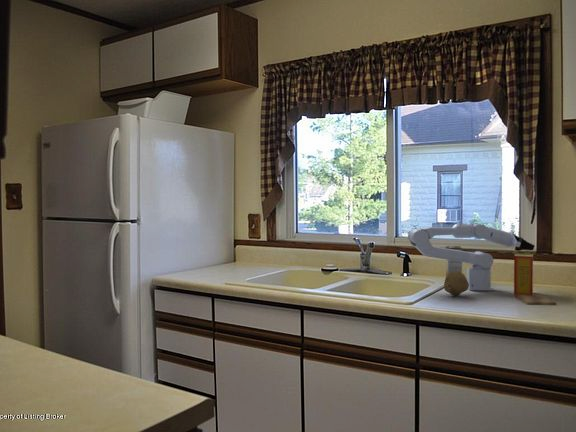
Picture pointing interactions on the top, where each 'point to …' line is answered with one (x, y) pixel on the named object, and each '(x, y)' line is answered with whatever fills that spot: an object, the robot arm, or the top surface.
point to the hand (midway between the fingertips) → (529, 245)
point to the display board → (535, 299)
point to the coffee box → (452, 264)
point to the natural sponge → (455, 283)
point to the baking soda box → (523, 274)
